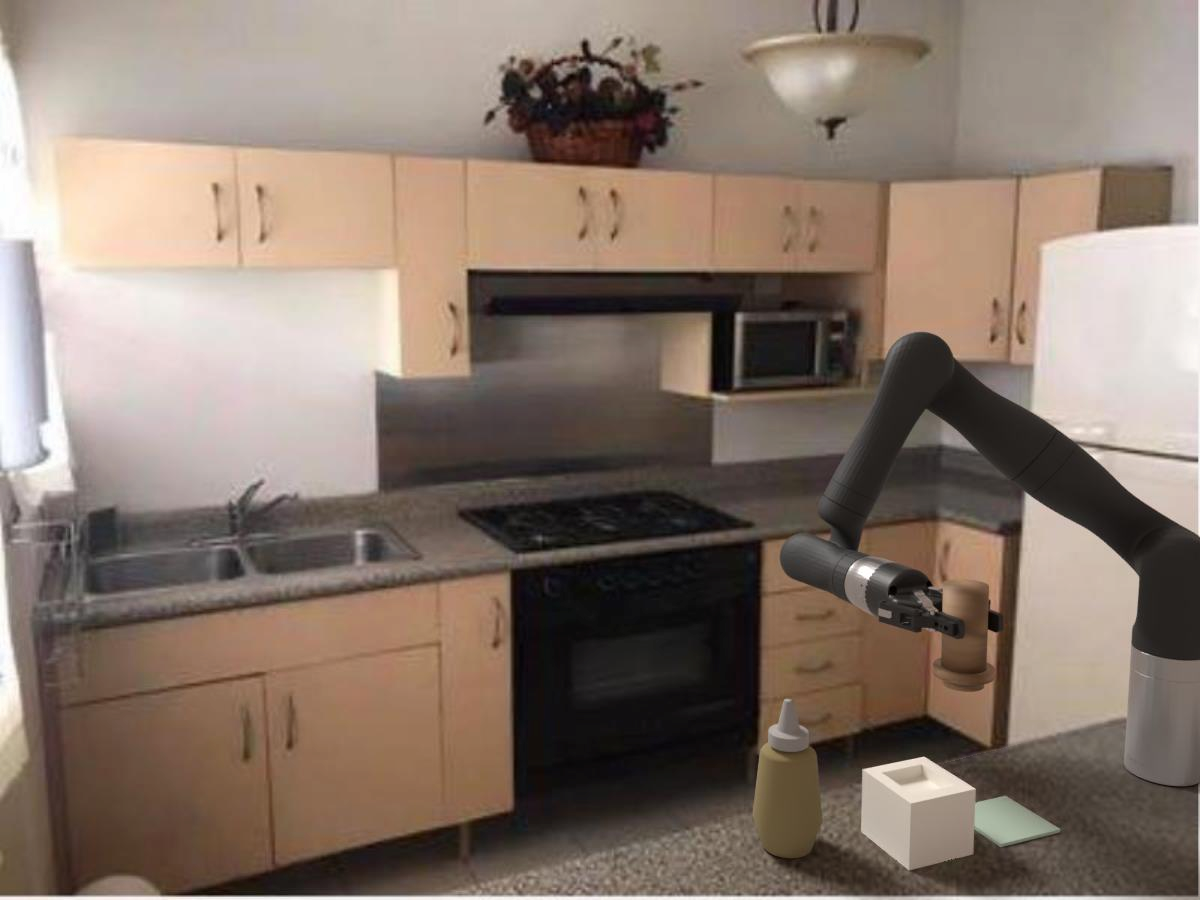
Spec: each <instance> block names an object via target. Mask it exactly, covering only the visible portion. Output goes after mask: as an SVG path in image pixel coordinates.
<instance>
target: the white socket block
mask: <svg viewBox="0 0 1200 900" xmlns="http://www.w3.org/2000/svg"><path fill="white" fill-rule="evenodd" d="M861 771H862V773H861V774H862V775H861V776H862V777H861V779H862V781H861V813H860V815H861V817H860V818H861V819H860V824H861V825H860V832H861V833H862V834H863V835H864V836H865V835H866V836H865V837H866V838H868V839H869V840H871V841H872V842H873V843H874V844H875V845H877V846H878V847H879V848H880V849H882V850H883V851H884V852H885V853H886V854H888V855H889V856H890V857H891V858H892V859H894V860H895V861H896V860H897V861H896V862H897V863H899V864H900V865H902V867H904V868H905V869H906V870H908V871H912V870H916V869H921V868H924V867H928V866H932V865H936V864H941V863H945V862H948V860H949V861H952V860H956V859H960V858H964V857H968V856H971V855H974V847H975V839H974V838H975V829H974V822H975V803H976V794H977V793H976V792H977V789H976V788H975V787H973V786H972V785H970V784H969V783H967V782H966V781H964V780H962V779H961V778H959V777H958V776H956V775H954V774H953V773H951V772H950V771H948V770H947V769H944V768H943V767H942V766H940V765H938V764H937V763H935V762H934V761H931V759H929V758H927V757H925V756H922V757H920V756H919V757H916V758H912V759H906V760H901V761H896V762H891V763H887V764H881V765H877V766H872V767H867V768H862V770H861ZM955 858H956V859H955ZM951 859H952V860H951ZM944 861H945V862H944Z"/></svg>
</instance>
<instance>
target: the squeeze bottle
mask: <svg viewBox="0 0 1200 900" xmlns="http://www.w3.org/2000/svg"><path fill="white" fill-rule="evenodd" d="M796 708H797V707H796V703H795V700H794V699H792V698H785V699H784V700H783V703H782V706H781V709H780V714H779V718H778V723H775V724H773V725H771V726H769V728H768V730H767V733H768V734H767V739H768V740H767V742H765V744H763V745H762V747H761V748H760V749H759V757H758V766H757V772H756V773H757V775H756V782H755V788H754V789H755V790H754V800H753V808H752V816H753V821H754V824H755V826H756V830H757V834H758V836H759V837H758V838H759V839H760V842H761V846H762V847H763V849H764V850H765V851H766V852H767V853H769V854H771V855H773V856H775V857H780V858H783V859H799V858H803V857H805V856H807V855H808V854H810V853H811V851H812V850H813V847H814V845H815V842H816V839H817V837H818V834H819V831H820V829H821V826H822V824H823V809H822V798H821V788H820V777H819V765H818V764H819V763H818V754H817V752H816V750H815V749H814V748H813V747H812V746H811V745H810V741H809V740H810V733H809V732H810V731H809V729H807V728H806V727H804V726H803V725H801V724H800V722H799V719H798V718H799V717H798V713H797V709H796Z"/></svg>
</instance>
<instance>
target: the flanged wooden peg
mask: <svg viewBox="0 0 1200 900" xmlns="http://www.w3.org/2000/svg"><path fill="white" fill-rule="evenodd" d="M942 589H943V604H942V612H944V613H946V614H948V615H951V616H954V617H957V618H959V619H962V620H963V621H964V623H965V633H964V638H962V639H955V638H953V637H950V636H948V635H946V634H943V633H941V645H940V646H941V648H940V649H941V650H940V651H941V653H940V655H941V656H940V657H939V658H937V659H935V660H934V661H933V662H932V674H933V676H934V677H936V678H937V679H939V680H941V681H942V685H943V686H944V687H946V688H947V689H950V690H954V691H958V692H962V693H963V692H967V693H970V692H971V693H972V692H973V693H975V692H979V691H982V690H984V688H985V685H988V684H990V683H992V682H994V680H995V676H996V669H995V666H994V665H992V664H991V663H989V662H988V634H989V632H988V631H989V630H988V606H989V600H990V597H989V596H990V585H989V584H988V583H986V582H983V581H979V580H974V579H965V578H964V579H962V578H956V579H955V578H954V579H947V580H944V581H943V582H942Z"/></svg>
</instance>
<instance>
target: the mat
mask: <svg viewBox="0 0 1200 900" xmlns="http://www.w3.org/2000/svg"><path fill="white" fill-rule="evenodd" d="M974 831H976V832H977V833H979V834H981V835H982V836H983V837H985V838H986V839H988V840H989V841H990V842H992V843H993V844H995V845H997V846H998V847H1000V848H1004V847H1008V846H1011V845H1012V846H1013V845H1015V844H1020V843H1023V842H1027V841H1031V840H1035V839H1039V838H1043V837H1047V836H1052V835H1055V834H1060V833H1061V828H1059V827H1057V826H1056V825H1054V824H1053V823H1051V822H1049V821H1047V820H1046V819H1044V818H1043V817H1041V816H1039V815H1038V814H1036V813H1034V812H1033V811H1031V810H1030V809H1028V808H1026V807H1025V806H1023V805H1022V804H1020V803H1018V802H1016V801H1015V800H1014V799H1011V798H1010V797H1008V796H1007V795H1002V796H998V797H993V798H989V799H985V800H980V801H977V802H976V801H975V822H974Z"/></svg>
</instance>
